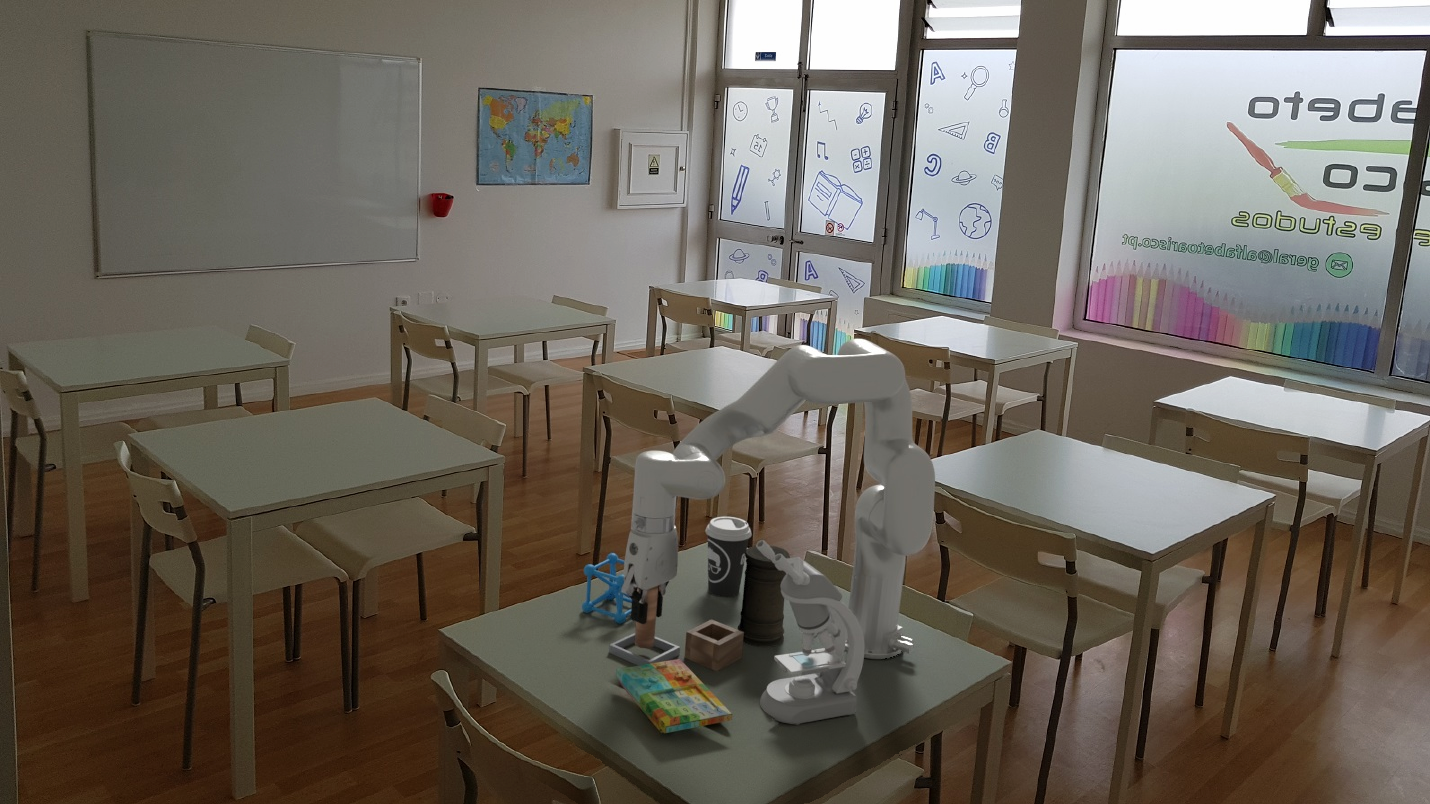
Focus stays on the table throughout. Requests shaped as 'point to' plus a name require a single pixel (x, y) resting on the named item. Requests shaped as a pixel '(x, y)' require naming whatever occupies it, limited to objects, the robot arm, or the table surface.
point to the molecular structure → (611, 592)
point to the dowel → (647, 630)
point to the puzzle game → (672, 696)
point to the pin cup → (714, 645)
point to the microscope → (833, 676)
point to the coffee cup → (726, 554)
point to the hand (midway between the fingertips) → (646, 617)
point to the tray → (618, 650)
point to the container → (762, 600)
